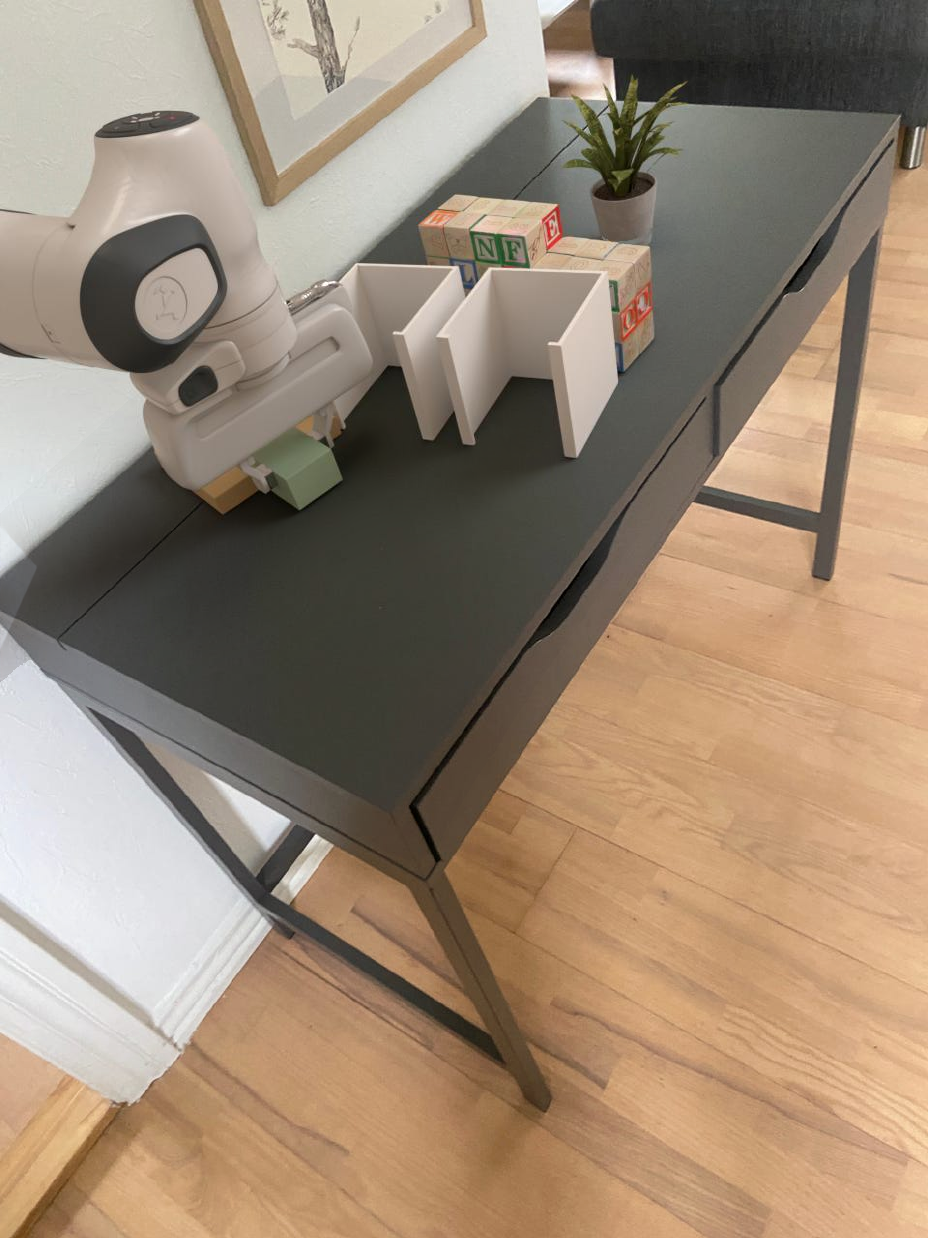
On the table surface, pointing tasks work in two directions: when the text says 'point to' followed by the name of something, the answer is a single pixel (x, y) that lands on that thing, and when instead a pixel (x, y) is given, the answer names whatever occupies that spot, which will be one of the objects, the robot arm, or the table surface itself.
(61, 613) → the table surface
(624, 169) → the house plant
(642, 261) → the stack of blocks
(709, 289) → the table surface
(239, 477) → the sand pad
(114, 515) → the table surface
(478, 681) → the table surface
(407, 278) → the open dividers
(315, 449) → the sage block
